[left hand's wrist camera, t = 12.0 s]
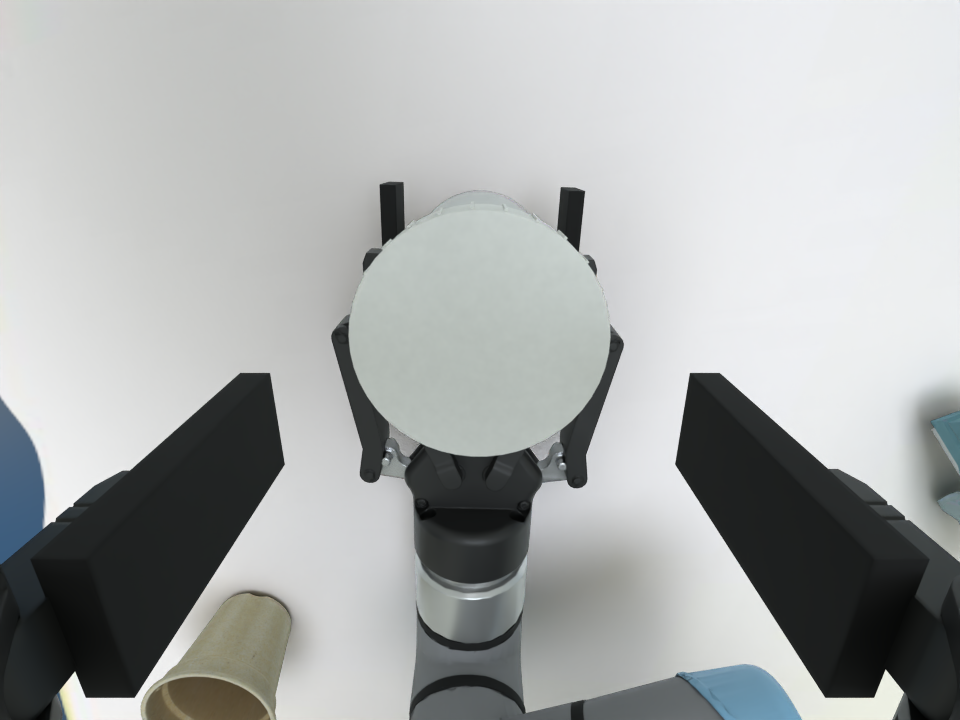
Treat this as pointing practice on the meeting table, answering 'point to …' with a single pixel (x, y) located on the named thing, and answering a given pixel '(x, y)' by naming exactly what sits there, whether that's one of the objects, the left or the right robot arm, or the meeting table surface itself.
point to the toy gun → (950, 456)
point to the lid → (479, 330)
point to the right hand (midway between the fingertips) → (482, 186)
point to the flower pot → (227, 666)
